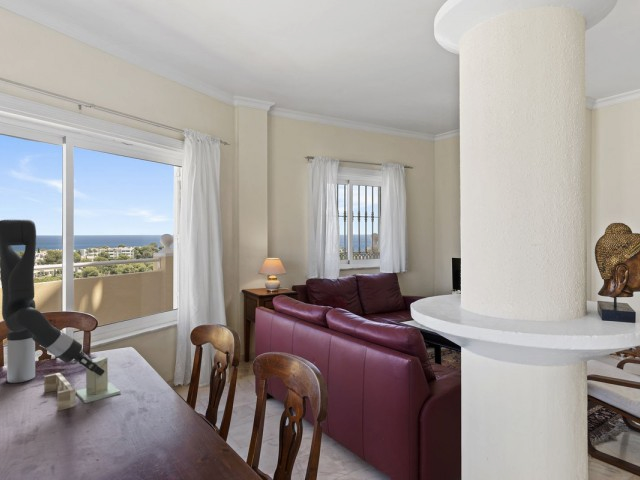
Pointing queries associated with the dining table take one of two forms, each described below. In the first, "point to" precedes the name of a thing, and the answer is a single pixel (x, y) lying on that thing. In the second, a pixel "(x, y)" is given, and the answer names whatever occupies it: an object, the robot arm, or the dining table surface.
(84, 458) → the dining table surface
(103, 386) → the skincare box
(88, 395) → the sage tile
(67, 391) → the beige long angular piece
